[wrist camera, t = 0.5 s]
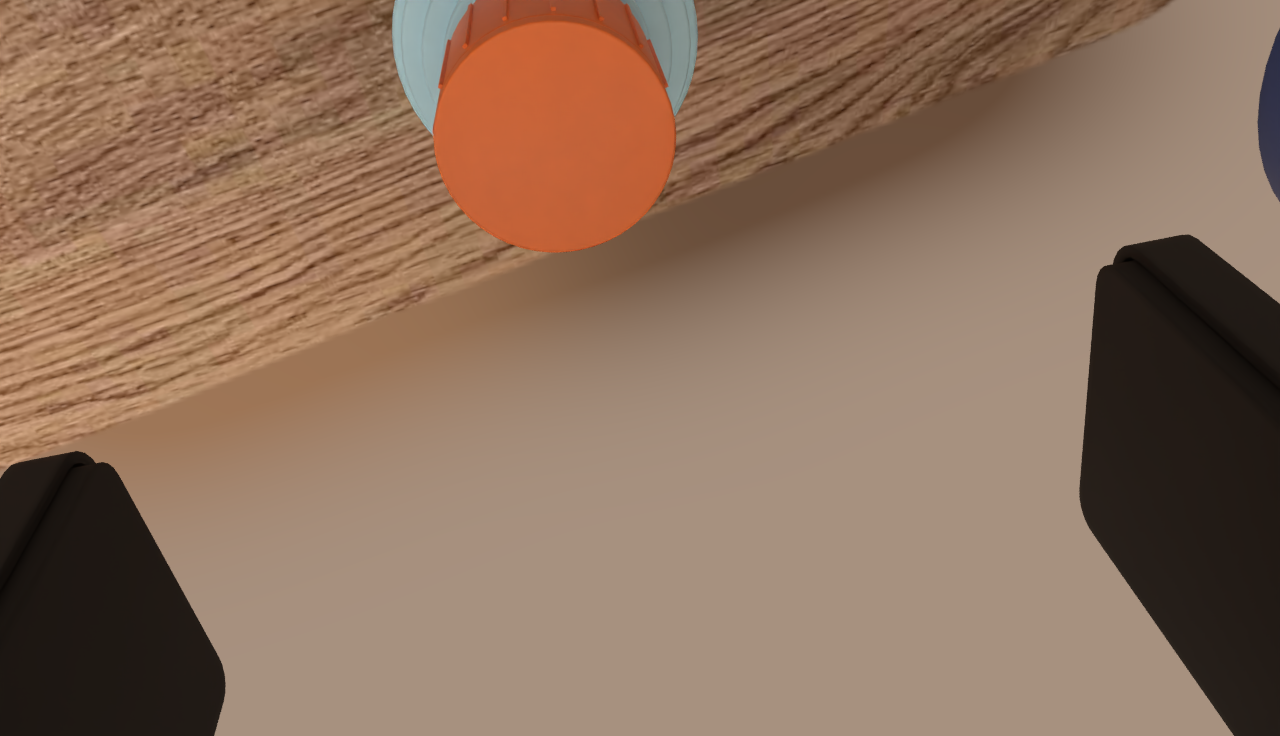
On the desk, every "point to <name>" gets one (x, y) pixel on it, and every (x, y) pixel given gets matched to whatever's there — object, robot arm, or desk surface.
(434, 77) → the bottle
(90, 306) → the desk surface
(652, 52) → the cap
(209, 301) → the desk surface
